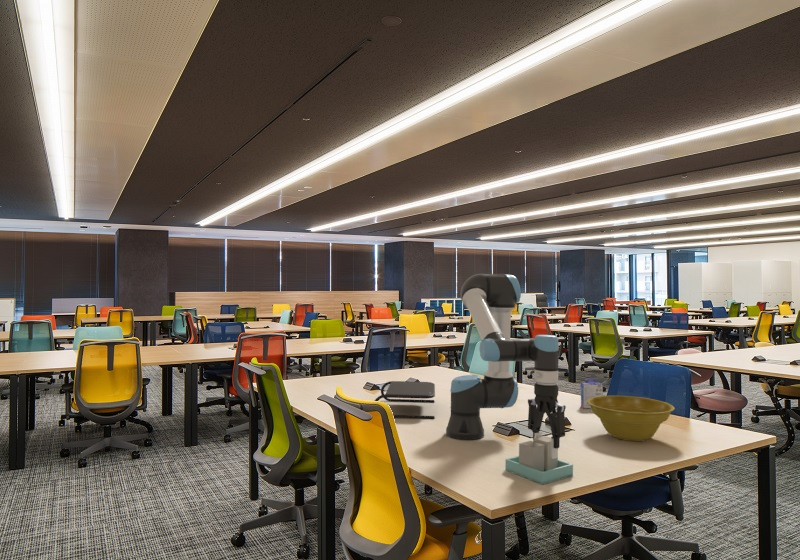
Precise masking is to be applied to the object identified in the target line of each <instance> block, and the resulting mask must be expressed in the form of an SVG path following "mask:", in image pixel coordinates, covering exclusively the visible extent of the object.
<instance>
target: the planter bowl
mask: <svg viewBox="0 0 800 560" xmlns="http://www.w3.org/2000/svg"><path fill="white" fill-rule="evenodd" d="M587 402H588V403H589V404H590V406H591V408H590V409H591V411H592V413H593V414H594V415H595V416H596V417H597V418H598V419H599V420H600V422H601V424H602V426H603V428H604V429H605V431H606V433H608V434H609V435H610V436H612V437H614V438H615V439H620V440H625V441H631V442H643V441H647V440H649V439H651V438H653V437H654V435H655V434H656V433H657V431H658V429H659V428H660V425H662V424H663V423H664V422H666V421H668V419H669V417H670V416H671V415H670V414H671V413H672V412H673V411H674V410H675V408H676V407H674V406H673V405H672V404H671V403H669V402H665V401H663V400H657V399H653V398H647V397H641V396H631V395H630V396H628V395H603V396H599V397H593V398H590V399H588V400H587Z"/></svg>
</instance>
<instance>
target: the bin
mask: <svg viewBox="0 0 800 560" xmlns="http://www.w3.org/2000/svg"><path fill="white" fill-rule="evenodd" d="M505 471H506V472H510V473H512V474H514V475H518V476H520V477H522V478H524V479H528V480H530V481H532V482H535V483H538V484H540V485H545V484H549V483H554V482H556V481H559V480H562V479H567V478H570V477H572V476H574V464H573V463H570V462H567V461H565V460H560V459H558V468H555V469H551V470H547V471H546V470H544V471H543V472H542V471H539V470H536V469H533V468H531V467H528V466H525V465H522V464H520V463H519V455H518V456H513V457H509V458H505Z"/></svg>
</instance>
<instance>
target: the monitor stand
mask: <svg viewBox="0 0 800 560" xmlns="http://www.w3.org/2000/svg"><path fill="white" fill-rule="evenodd" d="M388 385H389V386H388ZM387 386H388V387H387ZM386 387H387V390H386V392H384V391H385V388H386ZM380 388H381V389H380V394H381V395H379V396H377V397H376V398H375V399H374V401H378V402H379V401H380V400H381V399H384V400H385V401H387V402H393V403H394V402H396V403H400V402H401V403H403V402H404V403H432V404H433V403H435V399H433V398H434V397H436V384H435V383H433V382H431V381H404V380H403V381H401V380H399V381H397V380H391V381H387V382H384V384H383V385H382V386H381V387H380ZM393 415H394V418H393V419H416V420H417V419H420V420H422V419H423V420H435V418H436V417H435V416H434V415H417V414H415V415H408V414H406V415H405V414H393Z"/></svg>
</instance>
